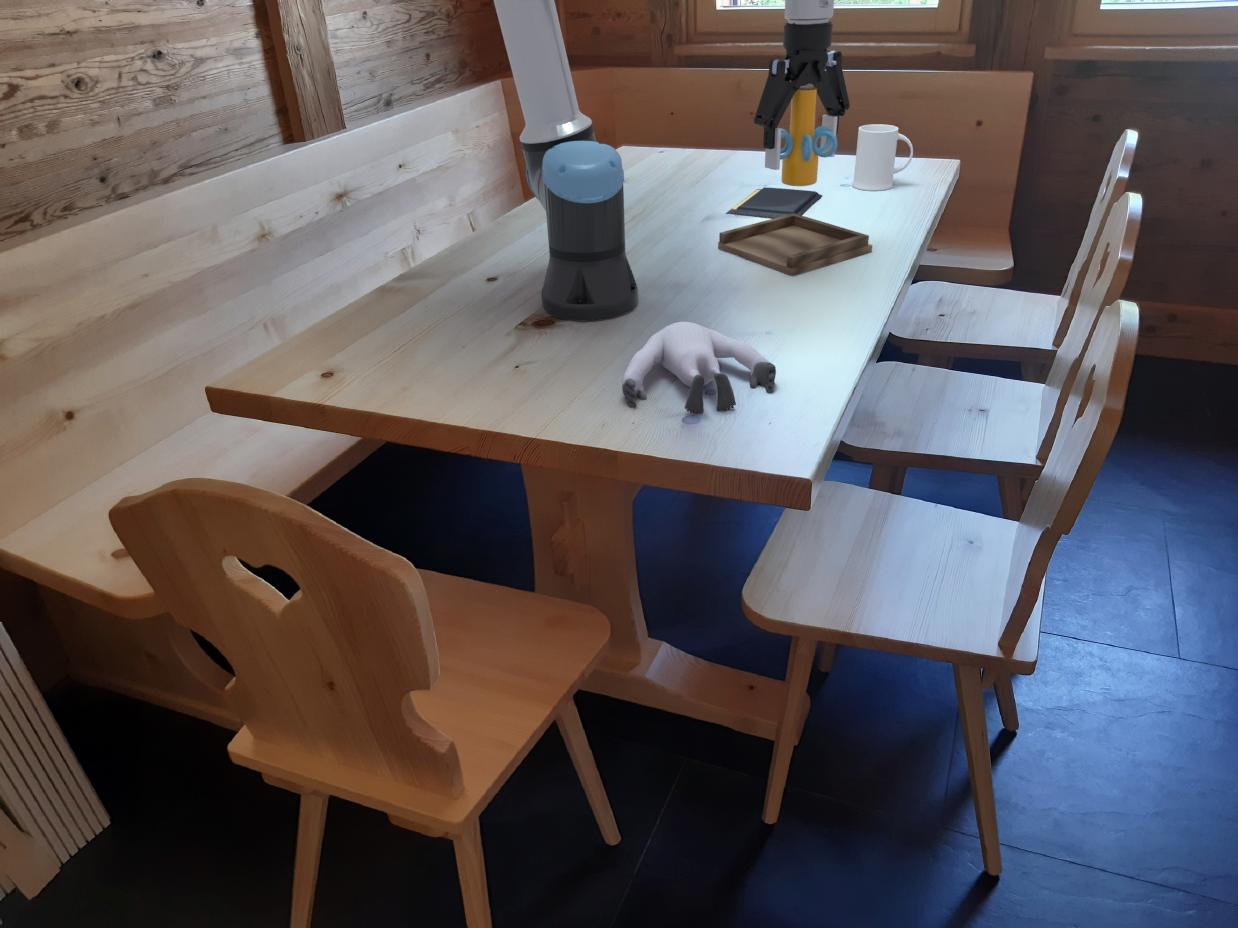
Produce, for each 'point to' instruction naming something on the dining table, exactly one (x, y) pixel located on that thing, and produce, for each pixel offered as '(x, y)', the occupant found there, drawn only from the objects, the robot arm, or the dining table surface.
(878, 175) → the mug
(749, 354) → the yeti figurine
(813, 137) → the cylinder
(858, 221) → the dining table surface
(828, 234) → the open-sided tray
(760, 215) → the wallet
